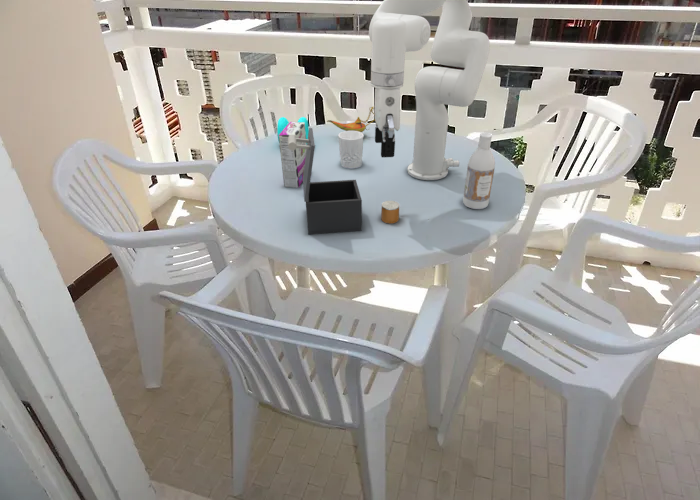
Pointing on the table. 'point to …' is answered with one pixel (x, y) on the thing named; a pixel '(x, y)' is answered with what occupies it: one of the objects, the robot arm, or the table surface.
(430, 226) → the table surface
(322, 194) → the dark grey storage bin
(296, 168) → the candy bar box
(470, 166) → the bath foam
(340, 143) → the white cup
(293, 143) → the brewer lid
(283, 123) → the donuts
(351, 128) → the magic lamp
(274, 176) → the table surface
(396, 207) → the cylinder
